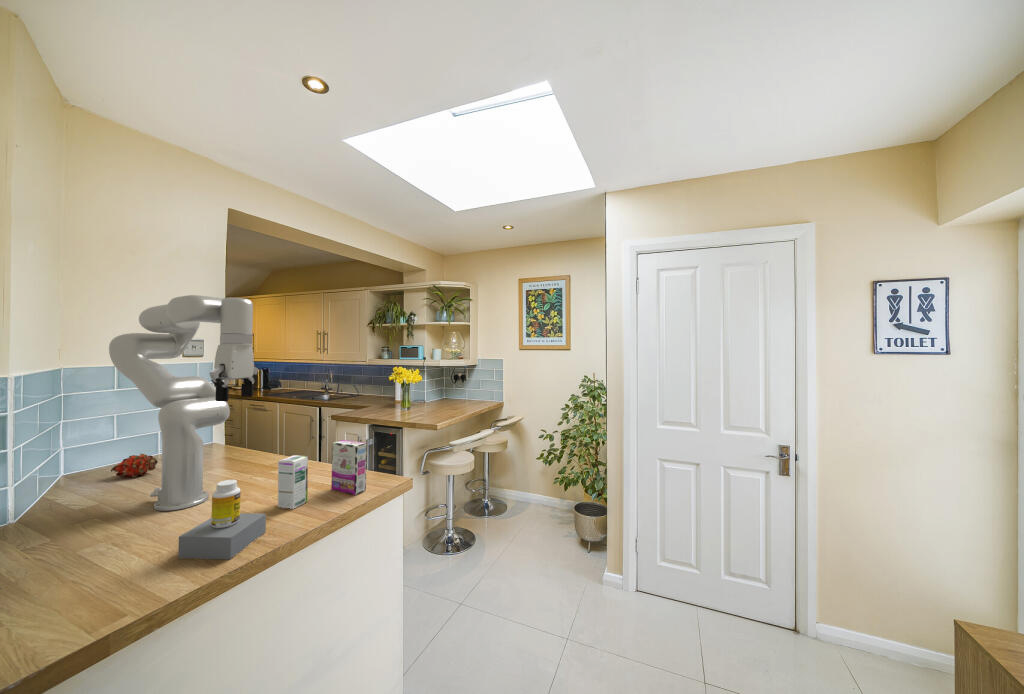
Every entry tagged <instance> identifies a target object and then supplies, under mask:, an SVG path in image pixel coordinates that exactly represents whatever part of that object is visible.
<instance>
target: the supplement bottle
mask: <svg viewBox="0 0 1024 694" xmlns="http://www.w3.org/2000/svg"><path fill="white" fill-rule="evenodd" d="M215 489H216V490H215V491H213V493H212V494H211V518H212V520H211V525H212V527H214V528H225V527H229V526H232V525H234V524H236V523H237V522H238V521H239V519H240V513H241V488H240V487H238V481H237V479H226V480H221V481H219V482H217V483H216V488H215Z"/></svg>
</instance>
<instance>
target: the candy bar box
mask: <svg viewBox="0 0 1024 694" xmlns="http://www.w3.org/2000/svg"><path fill="white" fill-rule="evenodd" d="M367 446H368V443H367V442H362V441H361V442H360V441H355V440H346V439H342V440H337V441H334V442H332V446H331V447H332V448H331V449H332V450H331V451H332V452H331V457H332V458H331V486H330V487H331V491H333V490H335V491H334V492H338V491H339V493H342V492H343V494H348V495H351V496H352V495H353V496H357V495H359V494H362V493H365V491H367V490H366V489H367V453H368V452H367V450H368V448H367Z"/></svg>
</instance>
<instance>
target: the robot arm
mask: <svg viewBox="0 0 1024 694" xmlns="http://www.w3.org/2000/svg"><path fill="white" fill-rule="evenodd" d="M253 313H254V303H253V302H252V301H251V300H250V299H248V298H243V297H224V298H221V297H214V296H207V295H199V294H198V295H195V294H189V295H188V294H187V295H182V296H175V297H173V298H172V299H170V300H169V302H168V303H167V304H161V305H155V306H150V307H148V308H146V309H144V310H142V311H141V312H140V314H139V316H138V321H139V325H140V326H141V328H143V329H145V330H146V331H150V332H152V333H148V332H147V333H146V332H144V333H143V332H140V333H139V332H133V333H132V332H131V333H130V332H129V333H123V334H119V335H117V336H114V337H113V338H112V339H111V341H110V342H109V346H108V355H109V358H110V360H111V362H112V364H113V366H114V367H115V368H116V370H117V371H119V372H120V373H121V374H122V375H123V376H124V377H126V378H127V379H128V380H130V381H131V382H132V384H134V385H135V387H136V389H138V391H140V393H141V394H142V395H143V396H144V397H145V399H147V401H148V402H149V403H150V404H151V405H153V406H154V407H155V408H159V409H160V410H159V412H158V416H157V419H158V424H159V428H160V435H161V443H162V444H161V487H155V488H154V490H153V491H152V492H150V494H149V496H150V497H152V498H153V497H154V498H155V497H157V501H155V502H154V503H153V509H155V510H156V511H160V512H169V511H177V510H183V509H187V508H190V507H191V508H192V507H193V506H197V505H199V504H202V503H203V502H205V501H207V500H208V499H209V497H210V495H209V492H208V491H204V490H203V489H204V488H203V487H204V486H203V484H204V441H203V438H202V437H201V436H200V435H199V434H198V433H197V432H196V430H200V429H203V428H207V427H214V426H217V425H221V424H223V423H224V422H226V421H227V420H228V419H229V417H230V413H231V412H230V411H231V409H230V405H229V403H228V401H229V396H230V395H229V391H230V387H229V386H228V385H229V383H230V381H234V380H241V381H242V382H241V386H240V387H241V392H240V394H241V397H242V398H244V397H245V398H248V397H249V398H251V397H252V398H253V395H254V383H255V381H256V378H257V375H258V372H259V368H257V367H256V365H255V363H254V362H255V360H254V349H253V325H254V324H253V320H254V316H253V315H254V314H253ZM201 323H212V324H219V329H220V334H219V344H218V345H217V348H216V352H215V357H214V366H213V369H212V370H211V371H210V372H209V377H210V379H211V382H210V381H209V380H208V379H206V378H205V377H200V376H195V375H194V376H175V375H173V374H171V373H170V372H169V370H168V369H167V368H165V366H163V365H161V364H159V363H158V362H155V361H153V360H157V359H158V360H166V359H175V358H178V357H181V355H182V354H183V353H184V352H185V351H186V349H187V347H188V346H189V344H190V343H191V341H192V340H193V339H194V337H195V335H196V334H197V333H198V330H199V327H200V326H201V325H200V324H201Z"/></svg>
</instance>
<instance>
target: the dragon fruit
mask: <svg viewBox="0 0 1024 694" xmlns="http://www.w3.org/2000/svg"><path fill="white" fill-rule="evenodd" d="M158 463H159V462H158V460H157V459H156V457H153V455H147V454H145V453H140V454H139V455H136V454H135V455H129V456H128V458H123V460H122V461H121V462H120V463H117V464H116V465H115V466H113V467H112V468H111V469H110V472H115V476H117V477H120V478H125V477H127V478H130V477H132V478H133V479H134V478H136V477H138V476H145V475H146V474H147V472H149V471H151V472H152V471H154V470H155V469H156V465H157V464H158Z"/></svg>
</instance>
